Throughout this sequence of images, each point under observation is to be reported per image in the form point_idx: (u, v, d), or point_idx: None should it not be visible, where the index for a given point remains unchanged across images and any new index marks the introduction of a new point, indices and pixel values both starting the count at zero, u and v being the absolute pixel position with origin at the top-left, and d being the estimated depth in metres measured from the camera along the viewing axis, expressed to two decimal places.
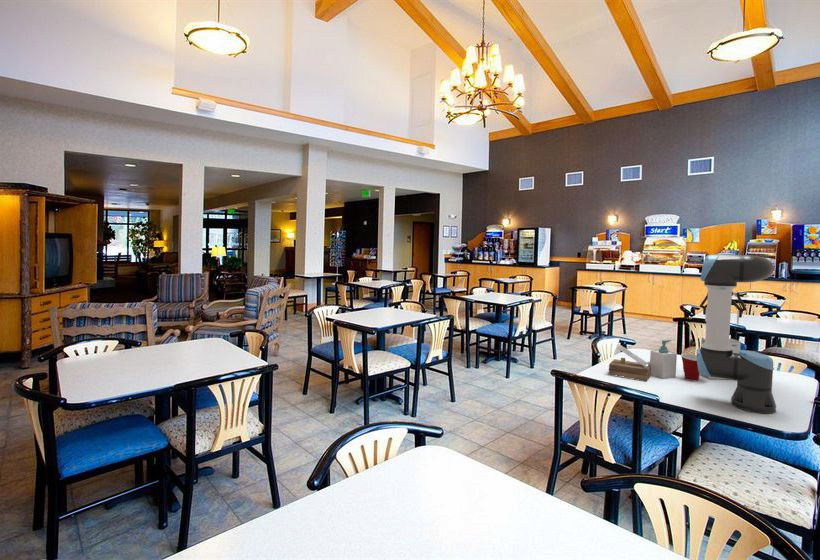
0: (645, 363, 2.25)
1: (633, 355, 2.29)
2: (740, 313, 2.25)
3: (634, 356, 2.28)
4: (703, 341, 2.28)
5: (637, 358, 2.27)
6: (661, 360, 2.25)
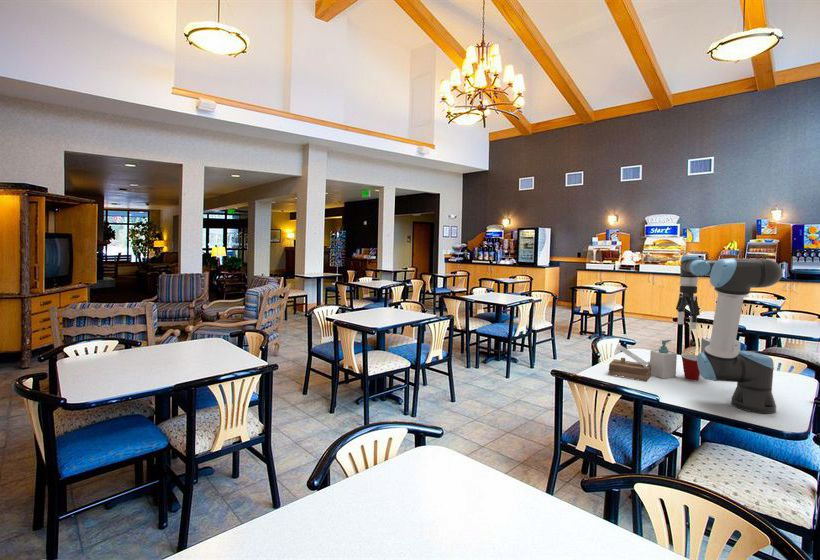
0: (645, 363, 2.25)
1: (633, 355, 2.29)
2: (692, 318, 2.17)
3: (634, 356, 2.28)
4: (703, 341, 2.28)
5: (637, 358, 2.27)
6: (661, 360, 2.25)
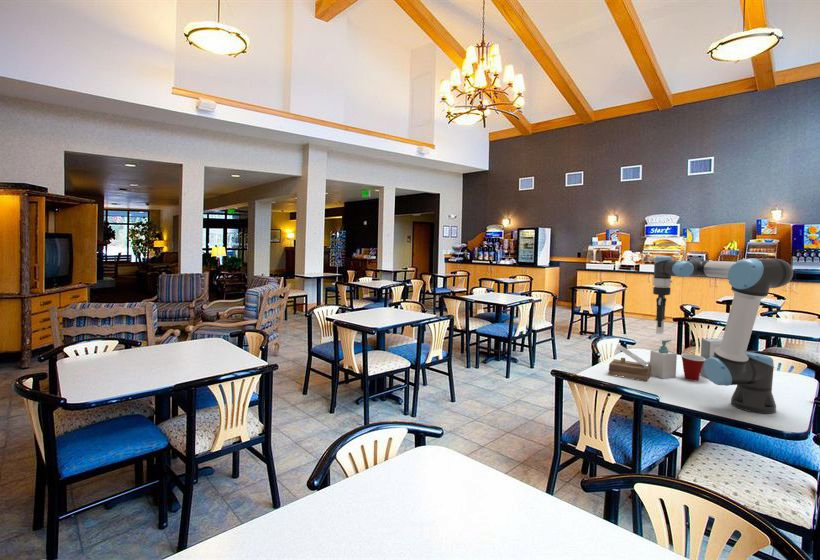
0: (645, 363, 2.25)
1: (633, 355, 2.29)
2: (658, 322, 2.19)
3: (634, 356, 2.28)
4: (703, 341, 2.28)
5: (637, 358, 2.27)
6: (661, 360, 2.25)
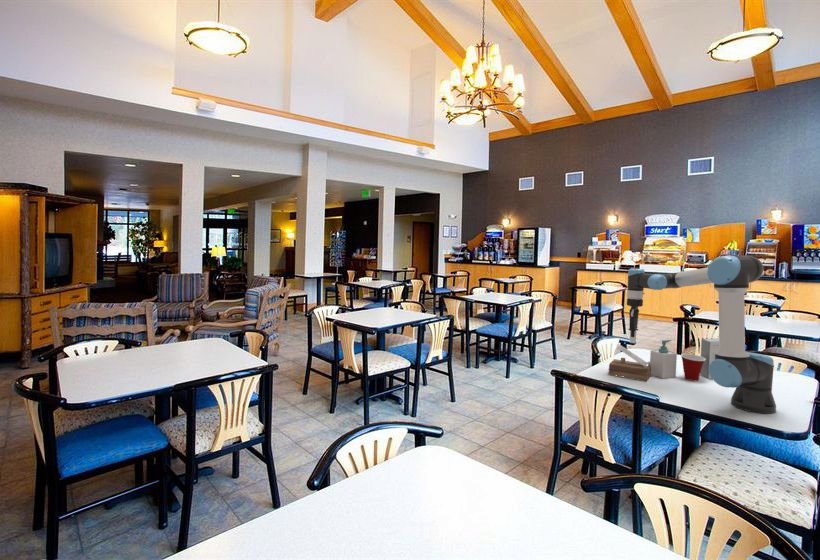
0: (645, 363, 2.25)
1: (633, 355, 2.29)
2: (631, 332, 2.28)
3: (634, 356, 2.28)
4: (703, 341, 2.28)
5: (637, 358, 2.27)
6: (661, 360, 2.25)
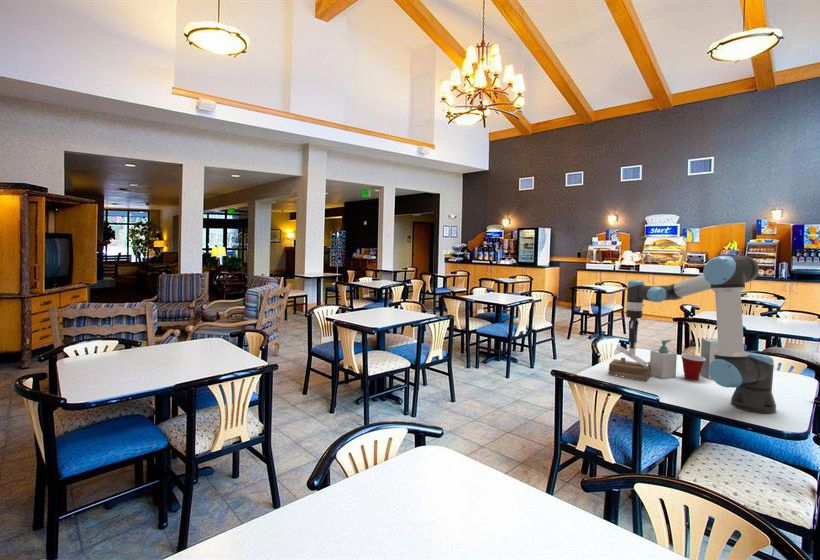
0: (645, 363, 2.25)
1: (633, 355, 2.29)
2: (630, 344, 2.28)
3: (634, 356, 2.28)
4: (703, 341, 2.28)
5: (637, 358, 2.27)
6: (661, 360, 2.25)
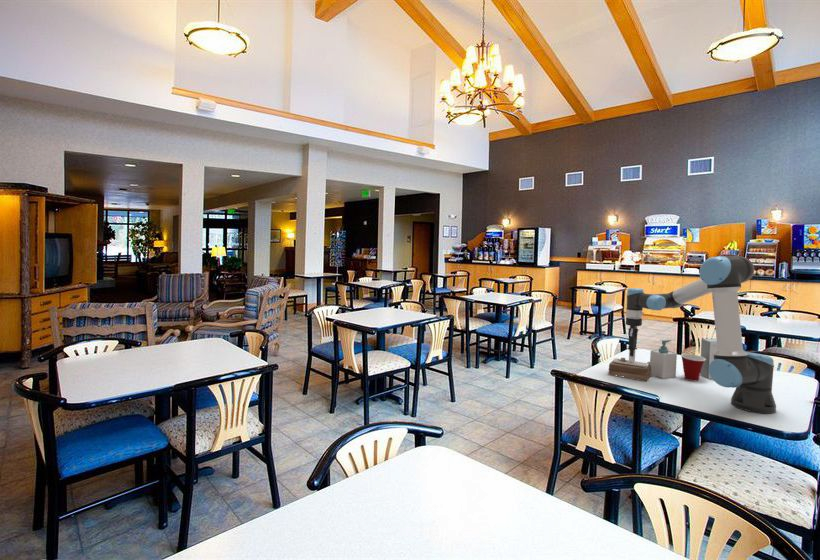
0: (644, 364, 2.26)
1: (630, 362, 2.30)
2: (630, 351, 2.28)
3: (631, 362, 2.29)
4: (703, 341, 2.28)
5: (635, 363, 2.28)
6: (661, 360, 2.25)
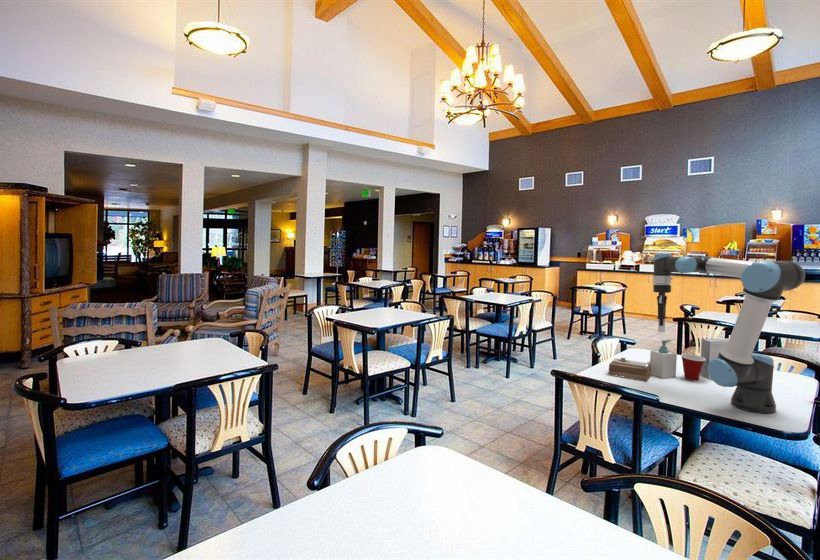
0: (644, 364, 2.26)
1: (630, 362, 2.30)
2: (659, 321, 2.13)
3: (631, 362, 2.29)
4: (703, 341, 2.28)
5: (635, 363, 2.28)
6: (661, 360, 2.25)
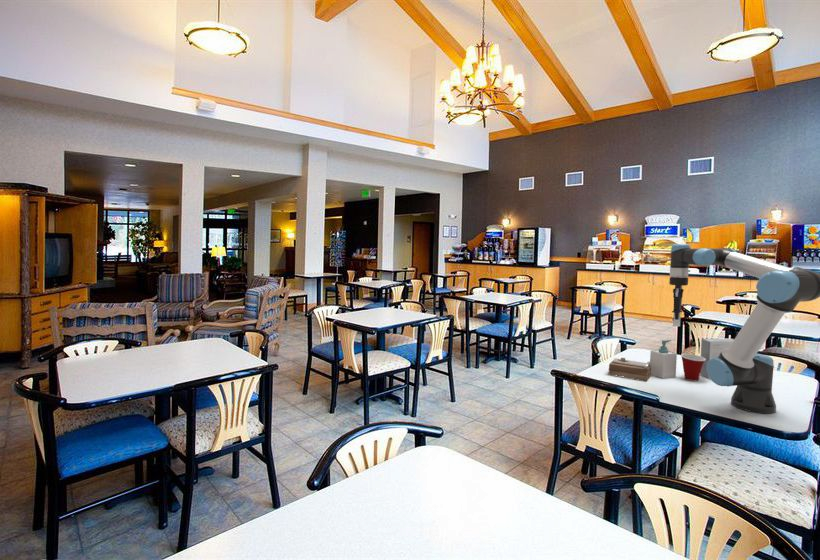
0: (644, 364, 2.26)
1: (630, 362, 2.30)
2: (675, 314, 2.06)
3: (631, 362, 2.29)
4: (703, 341, 2.28)
5: (635, 363, 2.28)
6: (661, 360, 2.25)
